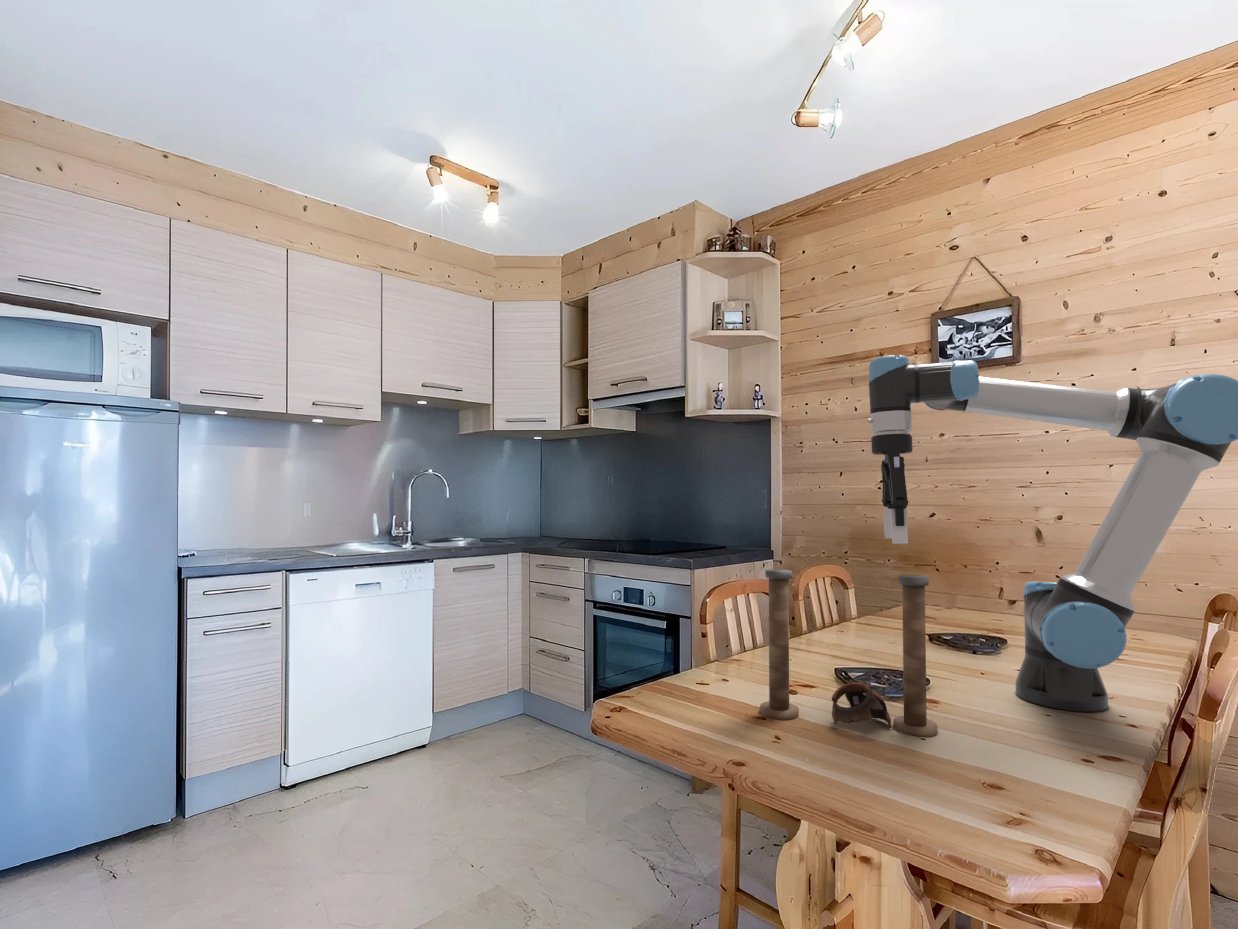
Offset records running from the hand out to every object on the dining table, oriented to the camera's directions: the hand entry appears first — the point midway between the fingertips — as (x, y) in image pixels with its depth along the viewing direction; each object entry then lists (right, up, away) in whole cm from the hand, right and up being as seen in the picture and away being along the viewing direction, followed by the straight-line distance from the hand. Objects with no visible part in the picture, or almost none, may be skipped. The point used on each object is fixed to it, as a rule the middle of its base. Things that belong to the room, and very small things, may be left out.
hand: (895, 541), depth 128 cm
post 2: (-4, -31, -16) cm, 35 cm away
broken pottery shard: (-12, -31, -14) cm, 36 cm away
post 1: (-25, -31, -8) cm, 41 cm away
